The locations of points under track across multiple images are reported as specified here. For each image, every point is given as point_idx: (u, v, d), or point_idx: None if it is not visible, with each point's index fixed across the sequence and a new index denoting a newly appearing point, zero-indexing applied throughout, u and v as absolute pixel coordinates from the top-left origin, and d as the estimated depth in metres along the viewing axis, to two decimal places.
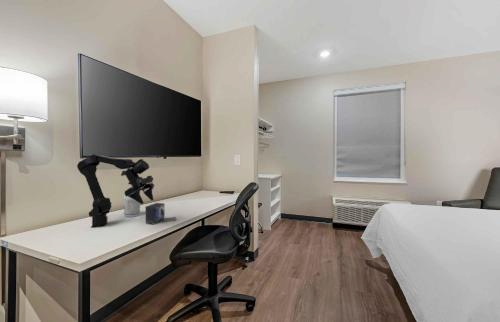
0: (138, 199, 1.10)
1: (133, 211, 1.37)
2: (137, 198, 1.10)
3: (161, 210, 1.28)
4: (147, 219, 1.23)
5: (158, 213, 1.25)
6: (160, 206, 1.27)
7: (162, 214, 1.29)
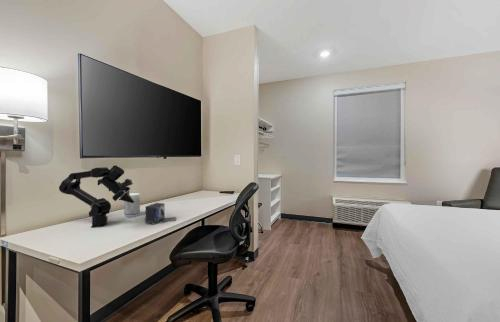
0: (128, 199, 1.21)
1: (133, 211, 1.37)
2: (127, 199, 1.21)
3: (161, 210, 1.28)
4: (147, 219, 1.23)
5: (158, 213, 1.25)
6: (160, 206, 1.27)
7: (162, 214, 1.29)
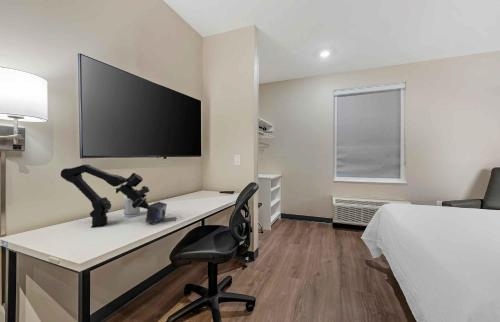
0: (146, 206, 1.24)
1: (133, 211, 1.37)
2: (145, 205, 1.24)
3: (162, 211, 1.27)
4: (148, 218, 1.22)
5: (159, 213, 1.25)
6: (162, 206, 1.27)
7: (163, 214, 1.29)
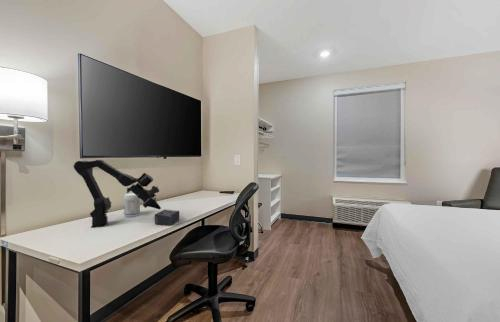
0: (156, 206, 1.26)
1: (133, 211, 1.37)
2: (155, 205, 1.26)
3: None
4: (158, 217, 1.21)
5: None
6: None
7: None
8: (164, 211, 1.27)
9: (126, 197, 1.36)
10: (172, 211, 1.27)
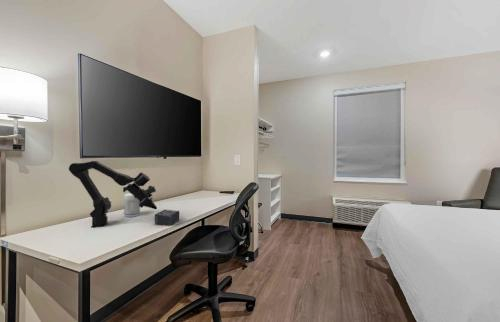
0: (152, 206, 1.26)
1: (133, 211, 1.37)
2: (151, 205, 1.25)
3: None
4: (158, 217, 1.21)
5: None
6: None
7: None
8: (164, 211, 1.27)
9: (126, 197, 1.36)
10: (172, 211, 1.27)
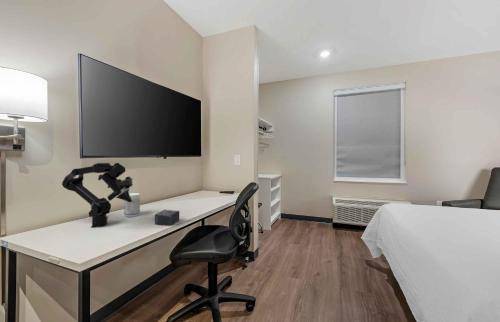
0: (126, 198, 1.20)
1: (133, 211, 1.37)
2: (125, 198, 1.20)
3: None
4: (158, 217, 1.21)
5: None
6: None
7: None
8: (164, 211, 1.27)
9: None
10: (172, 211, 1.27)
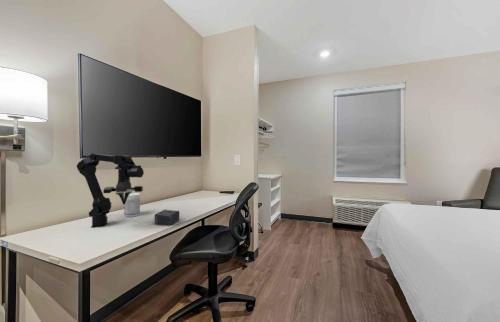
0: None
1: (133, 211, 1.37)
2: None
3: None
4: (158, 217, 1.21)
5: None
6: None
7: None
8: (164, 211, 1.27)
9: None
10: (172, 211, 1.27)
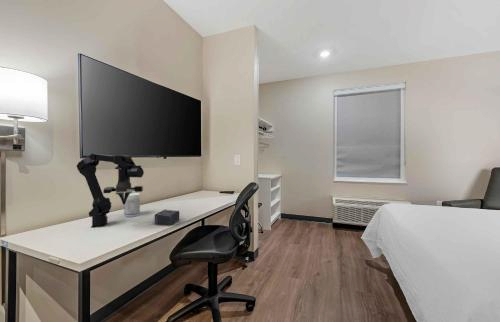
0: None
1: (133, 211, 1.37)
2: None
3: None
4: (158, 217, 1.21)
5: None
6: None
7: None
8: (164, 211, 1.27)
9: None
10: (172, 211, 1.27)
